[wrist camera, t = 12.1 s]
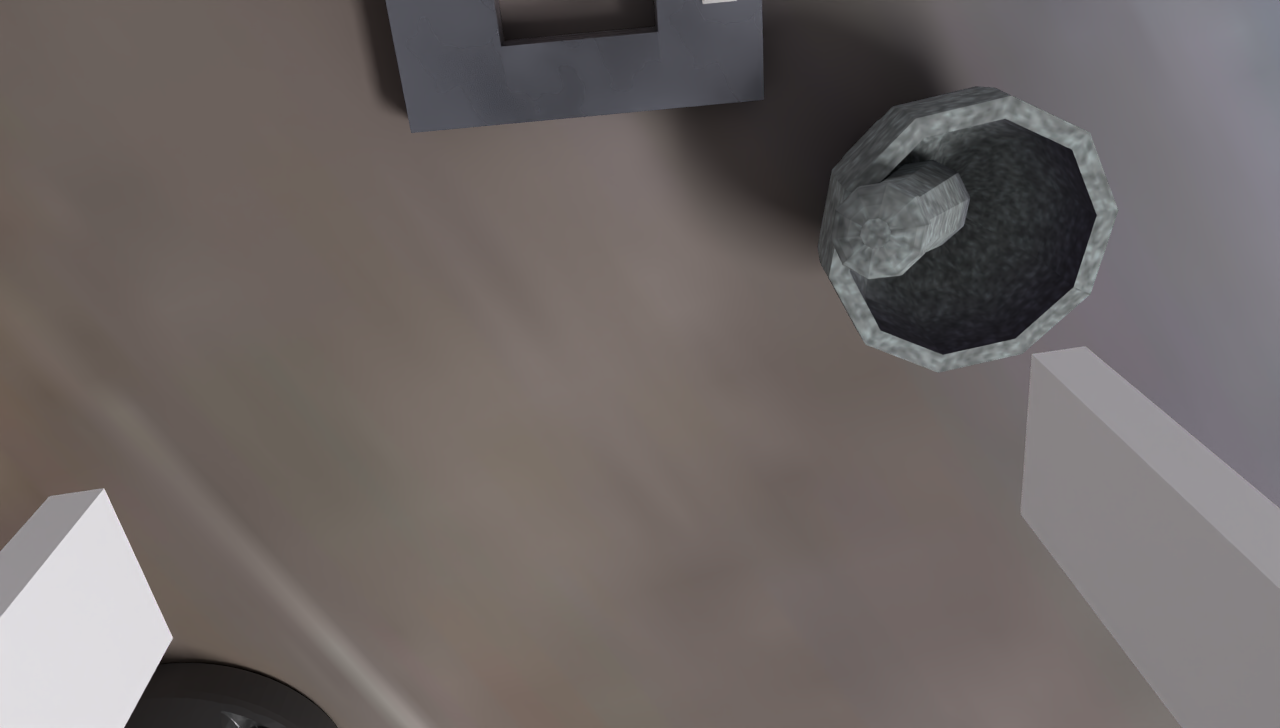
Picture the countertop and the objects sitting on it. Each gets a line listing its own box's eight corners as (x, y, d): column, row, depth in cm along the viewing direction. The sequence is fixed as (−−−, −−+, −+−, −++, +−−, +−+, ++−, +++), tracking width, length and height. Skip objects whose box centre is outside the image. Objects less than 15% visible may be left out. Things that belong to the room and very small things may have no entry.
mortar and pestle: (1076, 125, 37) (1276, 221, 26) (951, 325, 40) (1081, 480, 30) (828, 8, 34) (937, 61, 24) (719, 232, 38) (771, 366, 27)
